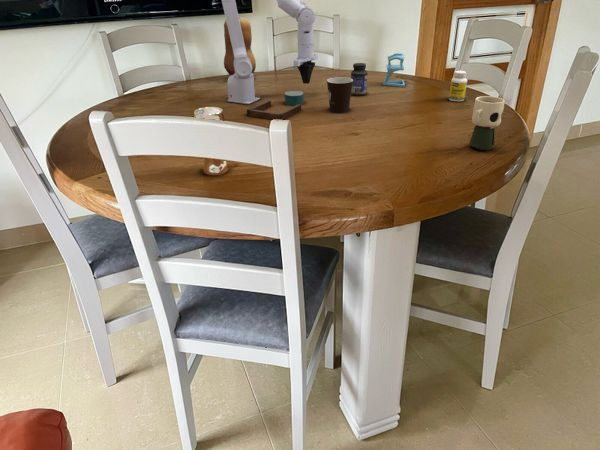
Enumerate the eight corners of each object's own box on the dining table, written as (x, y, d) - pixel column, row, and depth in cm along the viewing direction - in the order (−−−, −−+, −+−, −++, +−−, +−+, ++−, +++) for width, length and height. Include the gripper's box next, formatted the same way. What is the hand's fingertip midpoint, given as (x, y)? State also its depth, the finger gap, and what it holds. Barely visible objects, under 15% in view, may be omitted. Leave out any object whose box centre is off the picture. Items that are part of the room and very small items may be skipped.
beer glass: (203, 166, 117) (195, 107, 109) (230, 164, 117) (224, 105, 110) (200, 177, 111) (191, 115, 103) (229, 175, 111) (222, 114, 104)
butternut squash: (263, 78, 202) (259, 16, 190) (243, 84, 192) (238, 19, 180) (238, 74, 209) (233, 14, 196) (218, 81, 199) (212, 18, 187)
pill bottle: (367, 96, 172) (368, 65, 167) (350, 96, 172) (351, 65, 167) (365, 92, 178) (367, 62, 172) (349, 92, 178) (350, 62, 172)
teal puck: (281, 104, 165) (280, 94, 163) (290, 99, 170) (290, 90, 168) (298, 106, 162) (297, 96, 160) (307, 101, 167) (307, 92, 165)
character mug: (482, 156, 118) (491, 106, 112) (457, 149, 123) (465, 100, 117) (504, 146, 124) (514, 98, 118) (480, 139, 129) (488, 93, 123)
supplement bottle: (447, 101, 164) (451, 72, 159) (449, 97, 168) (453, 69, 163) (463, 102, 162) (468, 73, 157) (465, 98, 166) (469, 70, 162)
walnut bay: (247, 115, 154) (246, 109, 153) (268, 105, 164) (268, 100, 163) (281, 120, 148) (281, 114, 147) (301, 110, 158) (301, 104, 157)
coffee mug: (350, 114, 153) (351, 83, 148) (324, 113, 154) (324, 82, 149) (354, 104, 162) (355, 75, 157) (329, 103, 164) (330, 75, 159)
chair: (383, 82, 191) (385, 51, 185) (403, 82, 190) (406, 51, 184) (383, 86, 184) (385, 55, 178) (404, 87, 183) (407, 55, 177)
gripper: (305, 48, 156) (306, 88, 163) (324, 41, 167) (324, 79, 174) (287, 46, 159) (289, 86, 166) (307, 40, 170) (308, 78, 177)
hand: (306, 83), depth 170 cm, fingers closed
